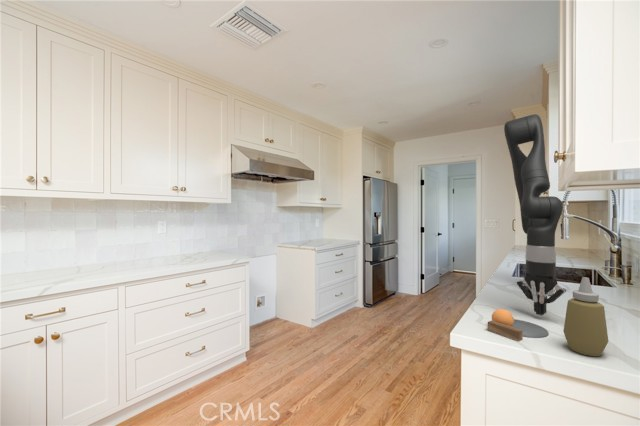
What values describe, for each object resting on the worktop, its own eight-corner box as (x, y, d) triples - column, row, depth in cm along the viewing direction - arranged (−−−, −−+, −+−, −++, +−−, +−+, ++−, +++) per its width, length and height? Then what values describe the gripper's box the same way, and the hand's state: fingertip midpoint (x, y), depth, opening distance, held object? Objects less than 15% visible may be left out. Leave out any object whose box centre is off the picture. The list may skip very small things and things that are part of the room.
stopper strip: (491, 329, 83) (491, 320, 83) (522, 339, 76) (522, 330, 76) (487, 330, 82) (487, 321, 82) (518, 341, 75) (518, 331, 75)
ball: (499, 310, 88) (489, 305, 86) (519, 314, 83) (508, 308, 81) (496, 328, 86) (486, 323, 84) (516, 333, 81) (505, 328, 79)
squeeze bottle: (616, 362, 65) (617, 283, 65) (572, 356, 68) (572, 280, 68) (596, 346, 72) (597, 275, 72) (557, 341, 75) (558, 273, 75)
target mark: (507, 316, 93) (507, 315, 93) (556, 330, 82) (556, 330, 82) (485, 324, 86) (485, 324, 86) (536, 341, 75) (536, 341, 75)
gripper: (571, 261, 87) (571, 318, 87) (522, 255, 98) (522, 306, 98) (561, 264, 83) (561, 323, 83) (511, 257, 94) (511, 310, 94)
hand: (539, 314), depth 91 cm, fingers closed
